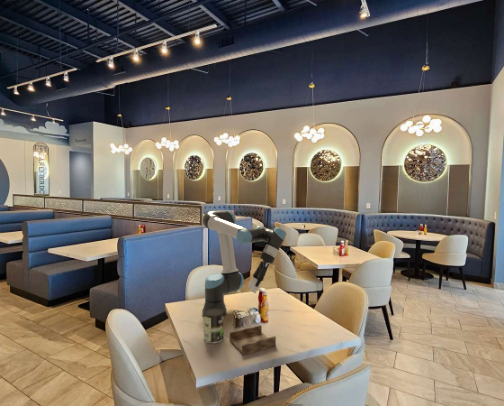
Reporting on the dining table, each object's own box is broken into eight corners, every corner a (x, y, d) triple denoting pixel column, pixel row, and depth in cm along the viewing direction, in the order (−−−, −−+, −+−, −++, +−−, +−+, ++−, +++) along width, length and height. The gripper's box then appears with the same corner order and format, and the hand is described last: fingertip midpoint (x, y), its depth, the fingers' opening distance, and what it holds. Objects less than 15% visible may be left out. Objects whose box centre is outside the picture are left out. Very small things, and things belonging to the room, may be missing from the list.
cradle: (260, 332, 160) (260, 324, 160) (275, 346, 146) (275, 337, 146) (229, 340, 151) (229, 331, 151) (242, 355, 138) (242, 345, 138)
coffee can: (226, 334, 157) (226, 308, 157) (220, 344, 147) (220, 316, 147) (207, 333, 159) (207, 307, 159) (200, 342, 149) (200, 315, 149)
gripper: (280, 258, 150) (261, 297, 145) (270, 257, 174) (254, 290, 170) (267, 251, 149) (247, 290, 145) (259, 251, 174) (242, 284, 169)
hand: (251, 290), depth 157 cm, fingers open, 13 cm apart
